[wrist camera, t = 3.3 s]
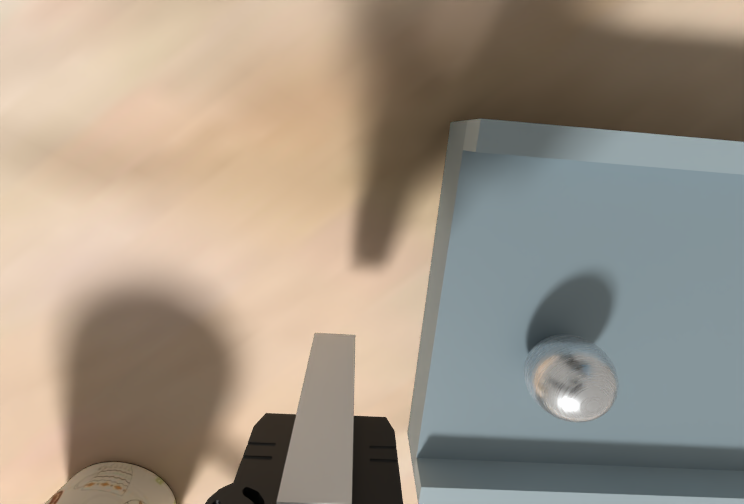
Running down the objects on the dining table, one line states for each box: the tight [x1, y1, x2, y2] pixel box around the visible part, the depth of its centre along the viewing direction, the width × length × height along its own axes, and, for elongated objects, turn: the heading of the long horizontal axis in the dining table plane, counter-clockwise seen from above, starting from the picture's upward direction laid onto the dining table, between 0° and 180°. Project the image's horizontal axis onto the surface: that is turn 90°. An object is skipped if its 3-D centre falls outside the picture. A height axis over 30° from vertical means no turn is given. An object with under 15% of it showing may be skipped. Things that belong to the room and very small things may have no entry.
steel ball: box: [524, 334, 619, 422], centre depth 14 cm, size 3×3×3 cm
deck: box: [408, 119, 744, 504], centre depth 16 cm, size 16×26×4 cm, turn 85°
